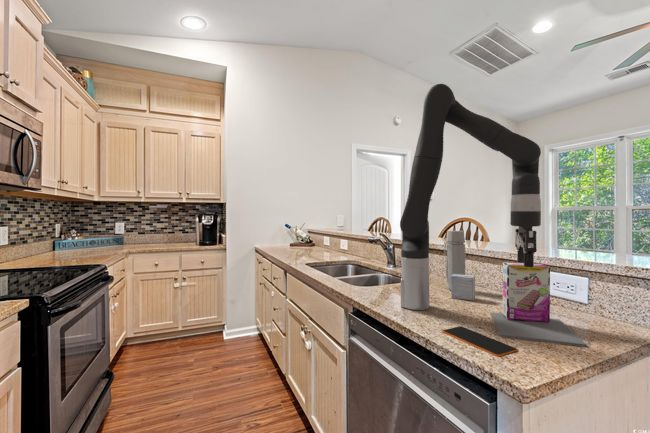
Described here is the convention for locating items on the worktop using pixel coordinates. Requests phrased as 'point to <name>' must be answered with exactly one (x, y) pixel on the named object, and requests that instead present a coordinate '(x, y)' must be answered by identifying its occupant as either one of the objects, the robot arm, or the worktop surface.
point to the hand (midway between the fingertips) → (525, 264)
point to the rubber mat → (536, 330)
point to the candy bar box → (526, 292)
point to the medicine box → (463, 287)
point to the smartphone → (480, 341)
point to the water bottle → (454, 255)
